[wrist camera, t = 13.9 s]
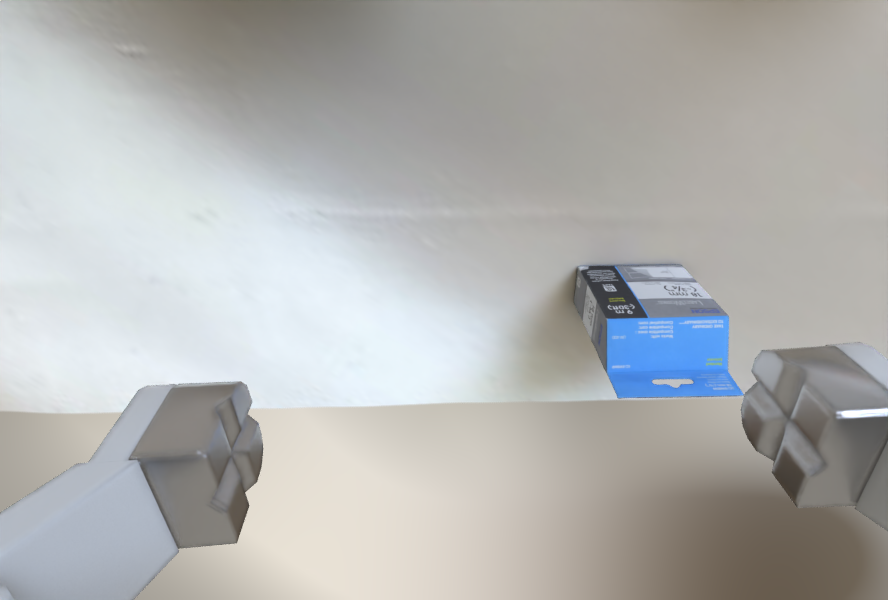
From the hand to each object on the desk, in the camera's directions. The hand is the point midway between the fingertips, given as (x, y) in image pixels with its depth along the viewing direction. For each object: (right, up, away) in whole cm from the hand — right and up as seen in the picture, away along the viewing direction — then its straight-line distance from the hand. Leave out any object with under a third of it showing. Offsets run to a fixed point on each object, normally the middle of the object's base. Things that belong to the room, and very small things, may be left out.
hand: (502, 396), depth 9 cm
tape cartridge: (+14, +3, +38) cm, 40 cm away
